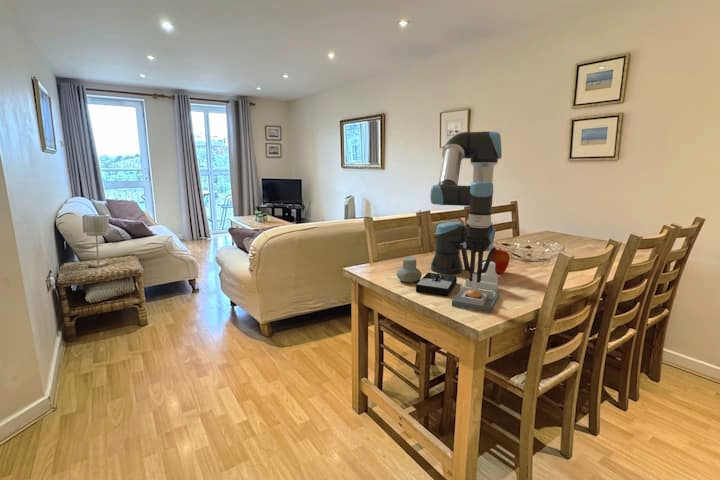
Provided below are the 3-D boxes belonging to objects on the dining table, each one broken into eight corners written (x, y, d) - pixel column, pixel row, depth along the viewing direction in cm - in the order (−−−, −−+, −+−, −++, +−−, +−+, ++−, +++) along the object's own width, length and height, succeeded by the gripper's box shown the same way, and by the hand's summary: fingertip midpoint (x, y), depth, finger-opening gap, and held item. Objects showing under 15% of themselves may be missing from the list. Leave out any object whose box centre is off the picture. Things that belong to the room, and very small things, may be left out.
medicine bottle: (475, 285, 160) (477, 258, 157) (493, 286, 159) (495, 259, 156) (478, 291, 153) (480, 263, 150) (496, 292, 152) (499, 263, 150)
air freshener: (399, 284, 161) (400, 261, 159) (394, 278, 169) (395, 257, 167) (423, 283, 163) (424, 260, 161) (417, 277, 171) (418, 256, 169)
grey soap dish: (451, 305, 137) (452, 292, 136) (463, 290, 154) (464, 278, 153) (491, 312, 131) (492, 299, 130) (499, 296, 148) (500, 284, 147)
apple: (486, 273, 177) (488, 249, 174) (488, 269, 185) (490, 245, 182) (507, 276, 173) (510, 251, 171) (509, 271, 181) (511, 247, 179)
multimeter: (456, 283, 164) (457, 272, 163) (447, 298, 146) (448, 286, 145) (427, 279, 169) (427, 269, 168) (415, 293, 152) (415, 281, 151)
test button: (465, 297, 136) (465, 292, 136) (468, 293, 140) (468, 288, 140) (479, 299, 134) (480, 294, 133) (482, 295, 138) (482, 290, 138)
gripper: (457, 226, 131) (454, 290, 136) (497, 229, 125) (491, 296, 130) (462, 223, 138) (458, 284, 143) (500, 226, 132) (494, 290, 137)
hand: (474, 290), depth 136 cm, fingers closed
